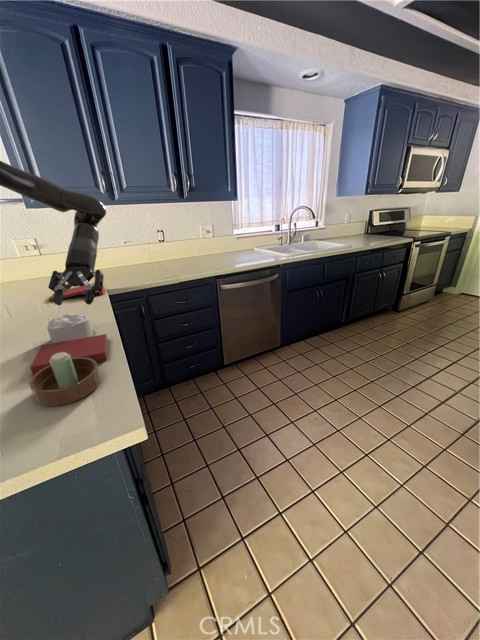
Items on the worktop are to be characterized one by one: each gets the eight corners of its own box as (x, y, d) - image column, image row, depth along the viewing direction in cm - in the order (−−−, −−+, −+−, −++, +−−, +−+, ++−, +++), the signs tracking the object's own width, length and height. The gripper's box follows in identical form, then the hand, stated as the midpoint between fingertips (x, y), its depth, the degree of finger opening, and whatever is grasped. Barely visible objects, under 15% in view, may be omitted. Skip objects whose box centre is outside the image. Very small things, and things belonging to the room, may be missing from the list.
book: (33, 375, 79) (29, 367, 78) (43, 352, 90) (40, 345, 89) (106, 360, 86) (104, 352, 85) (107, 341, 98) (106, 333, 96)
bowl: (28, 415, 64) (21, 399, 62) (43, 378, 77) (38, 364, 75) (99, 397, 70) (95, 382, 68) (102, 366, 83) (98, 352, 81)
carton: (53, 307, 138) (102, 295, 144) (48, 299, 136) (99, 286, 142) (59, 300, 149) (105, 288, 154) (55, 292, 146) (102, 280, 152)
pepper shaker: (58, 393, 70) (46, 362, 66) (61, 383, 74) (50, 353, 70) (78, 389, 72) (68, 358, 68) (80, 379, 76) (70, 349, 72)
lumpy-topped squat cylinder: (54, 336, 101) (47, 315, 98) (92, 328, 107) (87, 309, 103) (52, 348, 93) (44, 326, 89) (93, 339, 99) (87, 318, 95)
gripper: (50, 248, 77) (38, 299, 72) (99, 247, 78) (91, 297, 72) (66, 262, 84) (55, 309, 79) (111, 261, 85) (104, 308, 79)
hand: (72, 303), depth 75 cm, fingers open, 8 cm apart
